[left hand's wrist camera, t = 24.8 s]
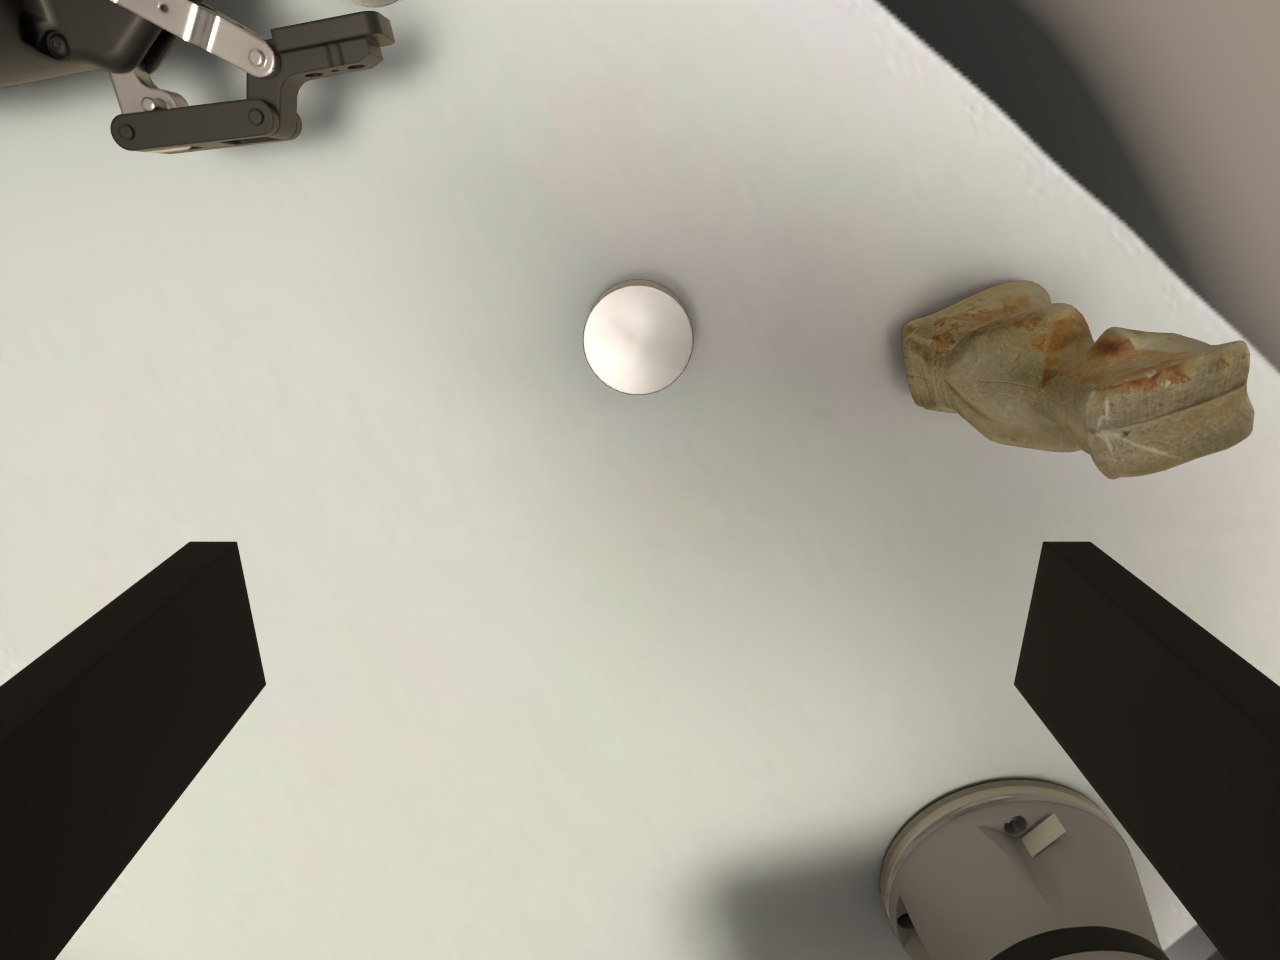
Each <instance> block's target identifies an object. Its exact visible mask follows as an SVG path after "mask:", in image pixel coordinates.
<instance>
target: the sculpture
mask: <svg viewBox="0 0 1280 960" xmlns="http://www.w3.org/2000/svg"><path fill="white" fill-rule="evenodd" d="M902 341H903V356H904V363H905V370H906V375H907V381H908V385H909V388H910V392H911V395H912V397H913V400H914V402H915V403H916V404H917V405H918V406H921V407H924V408H925V409H929V410H935V411H941V412H948V413H959V414H960V415H961V416H962V417H963V418H964V419H965V420H966V421H968V422H969V423H970V424H971V425H972V426H973V427H974V428H975V429H977V430H978V431H979V432H980V433H982V434H983V435H984V436H985V437H987V438H988V439H990V440H992V441H994V442H997V443H1001V444H1006V445H1012V446H1018V447H1024V448H1031V449H1038V450H1046V451H1054V452H1074V451H1078V450H1081V449H1082V450H1083V451H1085V452H1087V453H1088V454H1090V455H1091V456H1092V459H1093V461H1094V463H1095V465H1096V466H1097V467H1098V469H1099V470H1100V471H1101V472H1102V473H1103V474H1104V475H1105V476H1106V477H1108V478H1109V479H1117V478H1119V477H1134V476H1142V475H1147V474H1151V473H1156V472H1160V471H1163V470H1167V469H1170V468H1172V467H1175V466H1178V465H1180V464H1183V463H1186V462H1188V461H1191V460H1194V459H1197V458H1200V457H1203V456H1206V455H1209V454H1212V453H1216V452H1219V451H1222V450H1225V449H1228V448H1230V447H1232V446H1234V445H1236V444H1237V443H1239V442H1241V441H1242V440H1244V439H1245V438H1247V437H1248V436H1249V435H1250V434H1251V432H1252V429H1253V421H1254V409H1253V406H1252V404H1251V402H1250V400H1249V397H1248V394H1247V378H1248V373H1249V364H1250V353H1249V349H1248V347H1247V344H1246V343H1245V342H1244V341H1234V342H1230V343H1225V344H1221V345H1209V344H1207V343H1205V342H1202V341H1199V340H1196V339H1192V338H1189V337H1185V336H1182V335H1179V334H1174V333H1155V332H1143V331H1137V330H1130V329H1124V328H1119V327H1111V328H1109V329H1107V330H1106V331H1105V332H1104V333H1103V334H1102V335H1101V336H1100V337H1099V338H1098V340H1097V341H1096V342H1095V343H1094V341H1093V339H1092V336H1091V333H1090V330H1089V327H1088V324H1087V322H1086V321H1085V319H1084V317H1083V315H1082V314H1081V313H1080V312H1079V311H1078V310H1077V309H1076V308H1074V307H1073V306H1071V305H1068V304H1064V303H1056V304H1051V300H1050V296H1049V294H1048V292H1047V291H1046V290H1045V289H1044V288H1042V287H1041V286H1040V285H1039V284H1037V283H1035V282H1031V281H1014V282H1008V283H1003V284H1000V285H997V286H994V287H991V288H988V289H986V290H983V291H981V292H978V293H976V294H974V295H971V296H969V297H967V298H965V299H963V300H961V301H959V302H957V303H955V304H953V305H951V306H949V307H947V308H945V309H942V310H940V311H938V312H936V313H933V314H930V315H927V316H925V317H922V318H916V319H913V320H911V321H910V322H908V323H907V324H905V325H904V326H903V329H902Z"/></svg>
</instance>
